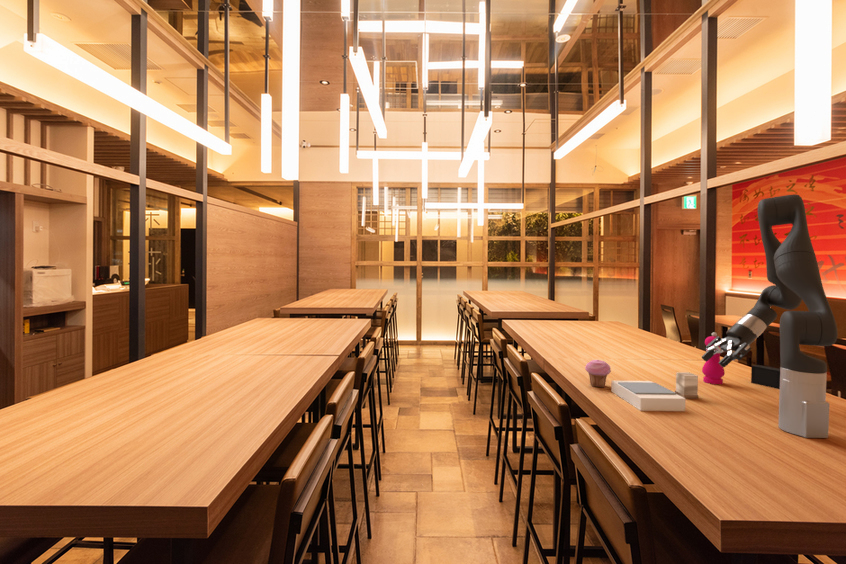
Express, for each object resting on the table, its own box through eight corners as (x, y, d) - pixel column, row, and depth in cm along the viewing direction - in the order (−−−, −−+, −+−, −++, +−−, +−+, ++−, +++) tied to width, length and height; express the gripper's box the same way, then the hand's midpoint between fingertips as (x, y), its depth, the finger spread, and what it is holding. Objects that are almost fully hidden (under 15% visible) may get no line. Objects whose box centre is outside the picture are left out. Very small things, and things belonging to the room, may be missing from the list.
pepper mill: (723, 381, 158) (724, 331, 158) (725, 386, 152) (726, 334, 152) (701, 379, 162) (702, 330, 162) (702, 383, 156) (703, 332, 156)
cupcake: (585, 387, 149) (586, 361, 149) (584, 381, 158) (584, 356, 157) (611, 390, 146) (612, 363, 146) (609, 383, 155) (609, 358, 154)
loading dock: (685, 411, 125) (685, 397, 125) (640, 410, 125) (640, 396, 125) (649, 391, 145) (650, 379, 145) (611, 391, 145) (611, 379, 145)
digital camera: (791, 388, 150) (791, 370, 150) (783, 390, 148) (784, 371, 148) (758, 381, 159) (759, 364, 159) (751, 383, 157) (751, 365, 157)
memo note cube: (698, 398, 137) (699, 375, 137) (683, 398, 137) (684, 375, 137) (688, 394, 142) (689, 372, 142) (674, 394, 142) (675, 372, 142)
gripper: (723, 319, 146) (691, 350, 146) (755, 325, 131) (719, 359, 132) (737, 334, 146) (705, 365, 146) (771, 341, 132) (735, 375, 132)
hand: (712, 362), depth 139 cm, fingers open, 8 cm apart
